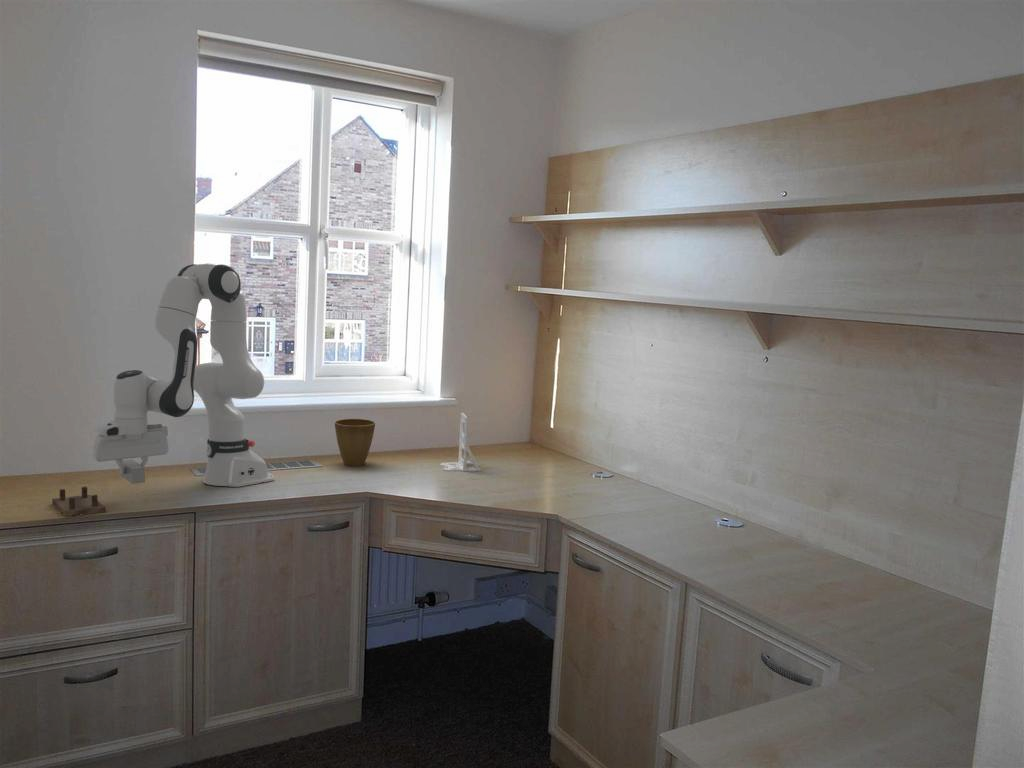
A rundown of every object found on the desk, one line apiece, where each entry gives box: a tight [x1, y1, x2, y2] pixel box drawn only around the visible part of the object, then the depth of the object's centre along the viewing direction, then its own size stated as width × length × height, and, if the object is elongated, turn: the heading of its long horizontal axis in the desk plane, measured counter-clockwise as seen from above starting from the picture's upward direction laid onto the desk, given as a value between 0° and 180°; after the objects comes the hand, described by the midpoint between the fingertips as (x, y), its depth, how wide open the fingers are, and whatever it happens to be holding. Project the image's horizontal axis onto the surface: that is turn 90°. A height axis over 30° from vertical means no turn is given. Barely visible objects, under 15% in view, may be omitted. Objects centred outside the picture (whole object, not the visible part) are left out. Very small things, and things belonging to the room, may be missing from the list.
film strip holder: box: [439, 412, 481, 473], centre depth 314 cm, size 14×14×20 cm
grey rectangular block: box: [119, 459, 146, 485], centre depth 247 cm, size 3×12×4 cm, turn 40°
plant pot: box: [334, 418, 376, 467], centre depth 311 cm, size 15×15×16 cm
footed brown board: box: [51, 486, 106, 517], centre depth 238 cm, size 10×16×4 cm, turn 40°
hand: (132, 472), depth 247 cm, fingers closed on grey rectangular block, 3 cm apart
